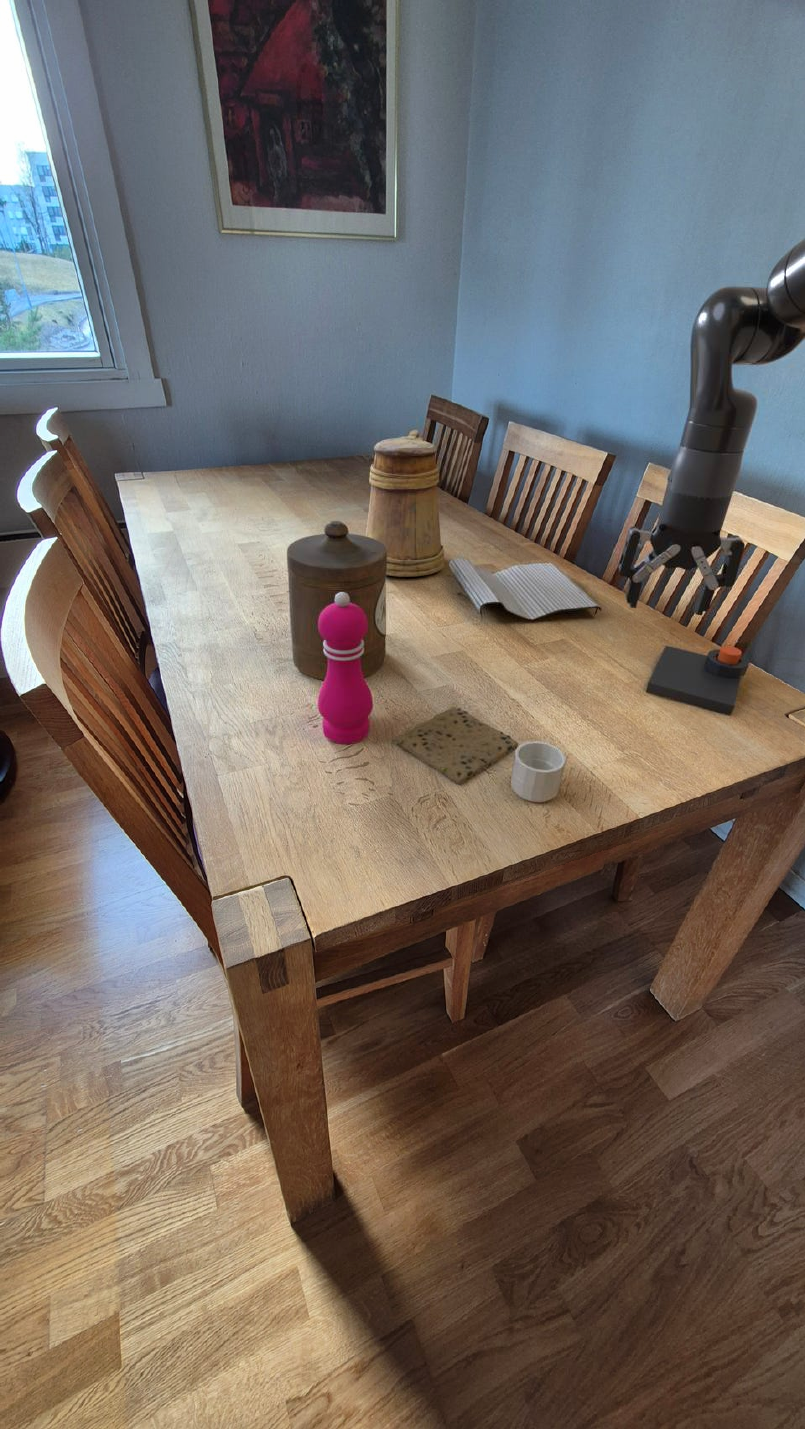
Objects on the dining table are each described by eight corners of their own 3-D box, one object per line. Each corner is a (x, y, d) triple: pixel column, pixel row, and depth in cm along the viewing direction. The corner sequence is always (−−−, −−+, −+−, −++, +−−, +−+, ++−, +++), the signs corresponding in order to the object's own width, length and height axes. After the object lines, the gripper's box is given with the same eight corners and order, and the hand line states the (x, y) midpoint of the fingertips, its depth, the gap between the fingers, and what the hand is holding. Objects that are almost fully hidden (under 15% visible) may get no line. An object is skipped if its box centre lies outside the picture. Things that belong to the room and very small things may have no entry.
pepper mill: (308, 728, 85) (298, 590, 73) (350, 709, 89) (347, 576, 78) (341, 753, 80) (336, 611, 69) (383, 732, 85) (385, 594, 73)
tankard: (354, 577, 129) (351, 448, 115) (371, 539, 148) (370, 425, 134) (441, 583, 128) (450, 453, 114) (447, 544, 147) (454, 429, 133)
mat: (600, 619, 115) (606, 596, 113) (477, 627, 112) (480, 603, 109) (554, 572, 134) (557, 550, 131) (447, 577, 130) (449, 555, 128)
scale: (743, 674, 100) (750, 655, 98) (733, 716, 90) (741, 696, 88) (663, 654, 105) (668, 635, 103) (645, 692, 95) (651, 672, 93)
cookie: (452, 707, 90) (453, 702, 89) (520, 746, 83) (521, 740, 82) (391, 740, 83) (391, 734, 82) (458, 785, 76) (459, 779, 75)
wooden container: (402, 667, 99) (407, 529, 87) (317, 691, 92) (309, 546, 80) (358, 630, 109) (356, 502, 97) (278, 649, 103) (266, 515, 90)
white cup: (564, 783, 77) (571, 751, 74) (549, 811, 73) (556, 778, 70) (519, 767, 79) (525, 735, 76) (502, 793, 75) (507, 761, 72)
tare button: (739, 658, 98) (742, 649, 97) (737, 667, 96) (740, 657, 95) (718, 653, 99) (722, 644, 98) (716, 661, 97) (719, 651, 96)
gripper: (642, 489, 74) (612, 615, 83) (771, 499, 72) (726, 627, 81) (636, 474, 80) (608, 593, 89) (754, 483, 78) (714, 603, 87)
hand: (664, 609), depth 85 cm, fingers open, 8 cm apart
